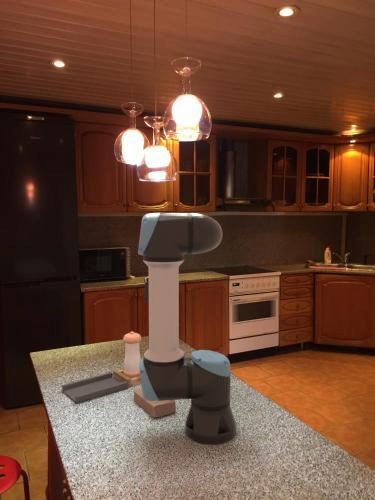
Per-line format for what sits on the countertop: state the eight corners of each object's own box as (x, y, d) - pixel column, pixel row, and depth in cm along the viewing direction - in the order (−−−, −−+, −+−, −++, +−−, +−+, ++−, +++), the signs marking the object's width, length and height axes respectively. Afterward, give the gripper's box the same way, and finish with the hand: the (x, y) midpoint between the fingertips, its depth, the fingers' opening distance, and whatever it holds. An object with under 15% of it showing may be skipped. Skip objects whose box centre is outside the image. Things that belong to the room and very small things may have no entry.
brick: (132, 400, 139) (132, 387, 139) (153, 394, 144) (153, 382, 143) (154, 420, 125) (153, 406, 125) (176, 414, 130) (176, 400, 129)
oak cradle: (138, 371, 165) (137, 364, 165) (153, 379, 157) (153, 372, 156) (113, 378, 158) (112, 370, 158) (127, 387, 149) (127, 379, 149)
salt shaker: (132, 384, 152) (132, 335, 151) (119, 379, 156) (118, 332, 155) (145, 378, 158) (145, 331, 156) (132, 374, 162) (132, 328, 161)
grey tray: (111, 377, 158) (111, 372, 158) (127, 388, 148) (127, 382, 148) (62, 391, 146) (62, 385, 146) (76, 404, 136) (76, 397, 136)
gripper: (171, 259, 171) (172, 312, 172) (134, 262, 159) (135, 319, 161) (182, 260, 165) (182, 315, 166) (144, 263, 153) (145, 322, 155)
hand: (159, 317), depth 164 cm, fingers open, 6 cm apart
